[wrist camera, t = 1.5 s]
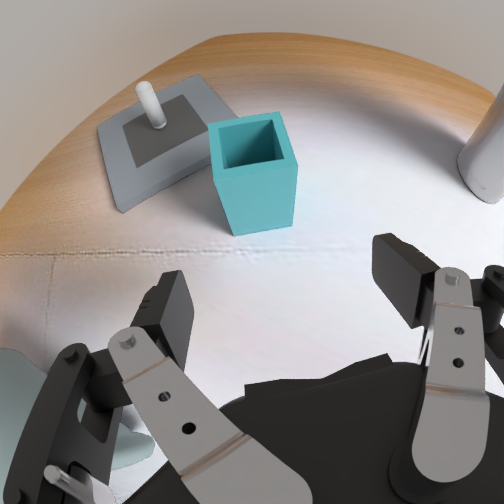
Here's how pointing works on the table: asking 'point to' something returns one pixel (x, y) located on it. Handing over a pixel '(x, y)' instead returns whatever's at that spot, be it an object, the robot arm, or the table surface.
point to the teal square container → (254, 172)
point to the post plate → (159, 138)
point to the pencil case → (21, 402)
